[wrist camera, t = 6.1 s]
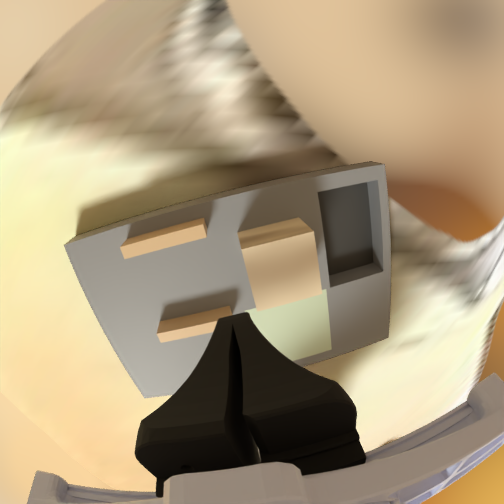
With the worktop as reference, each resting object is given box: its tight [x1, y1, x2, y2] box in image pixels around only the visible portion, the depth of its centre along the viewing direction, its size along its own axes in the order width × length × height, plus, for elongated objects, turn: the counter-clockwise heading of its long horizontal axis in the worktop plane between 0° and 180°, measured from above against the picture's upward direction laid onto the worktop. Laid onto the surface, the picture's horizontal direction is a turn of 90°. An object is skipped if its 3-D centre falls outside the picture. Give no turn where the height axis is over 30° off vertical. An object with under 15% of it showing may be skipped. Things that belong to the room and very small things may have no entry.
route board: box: [64, 161, 391, 398], centre depth 20 cm, size 15×22×4 cm
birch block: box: [237, 217, 322, 312], centre depth 18 cm, size 4×4×3 cm
